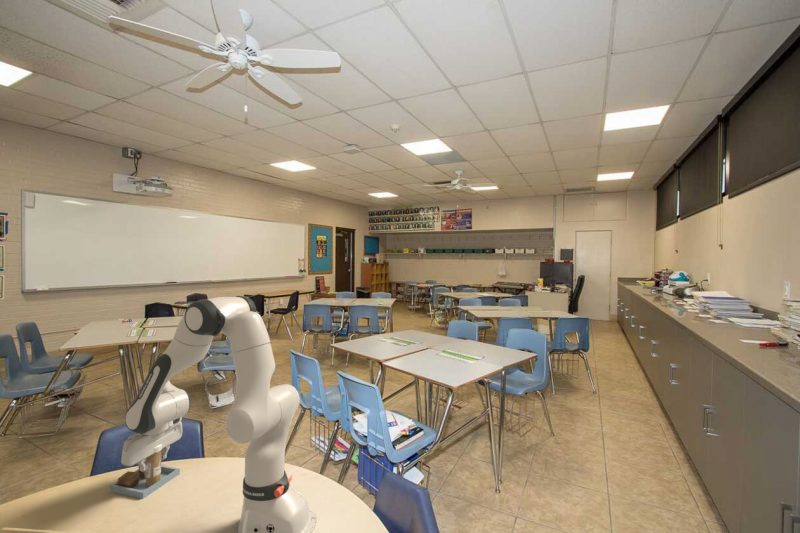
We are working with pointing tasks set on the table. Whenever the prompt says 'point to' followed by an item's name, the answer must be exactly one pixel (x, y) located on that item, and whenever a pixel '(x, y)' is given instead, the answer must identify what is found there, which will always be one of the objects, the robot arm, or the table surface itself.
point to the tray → (140, 488)
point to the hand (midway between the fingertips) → (153, 464)
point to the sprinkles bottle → (153, 467)
